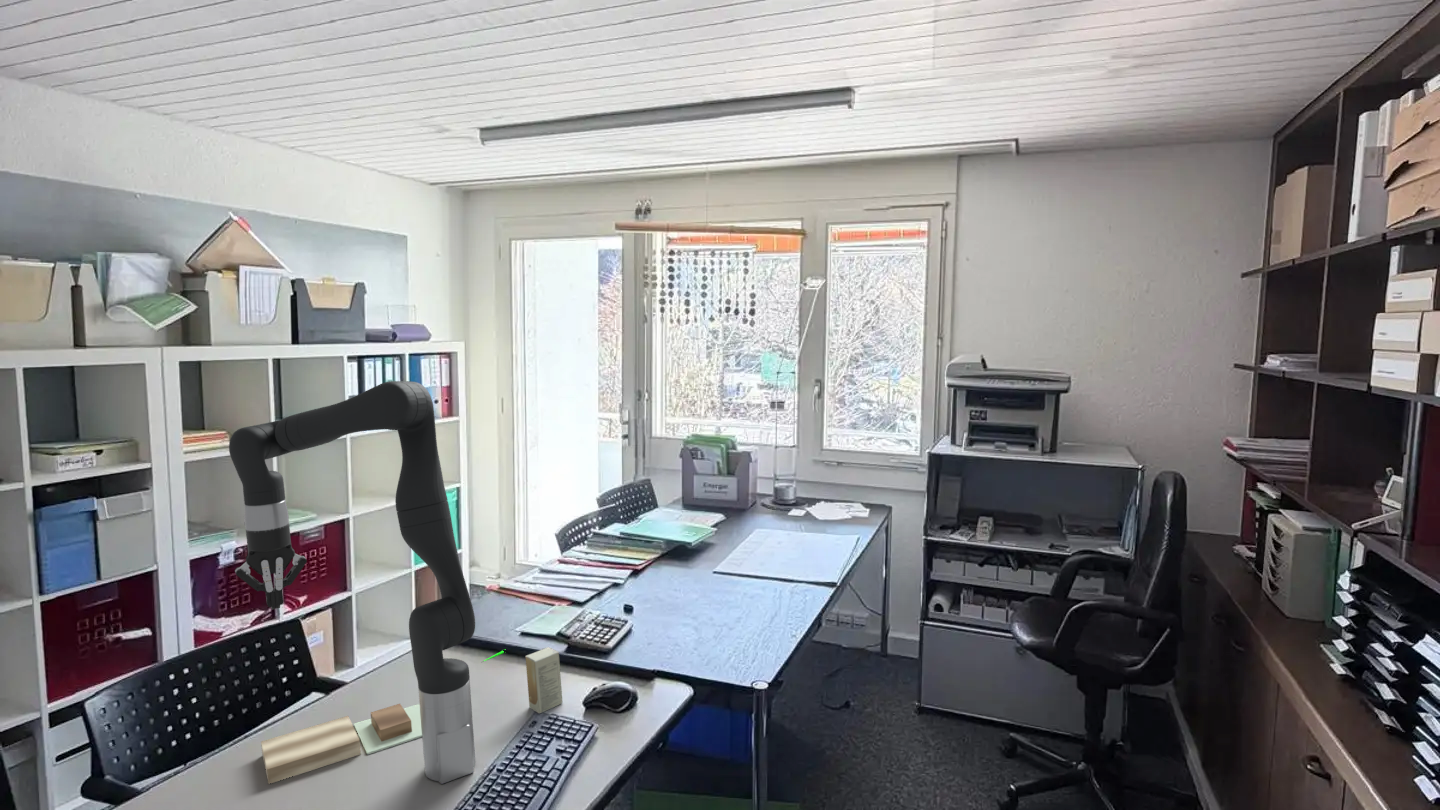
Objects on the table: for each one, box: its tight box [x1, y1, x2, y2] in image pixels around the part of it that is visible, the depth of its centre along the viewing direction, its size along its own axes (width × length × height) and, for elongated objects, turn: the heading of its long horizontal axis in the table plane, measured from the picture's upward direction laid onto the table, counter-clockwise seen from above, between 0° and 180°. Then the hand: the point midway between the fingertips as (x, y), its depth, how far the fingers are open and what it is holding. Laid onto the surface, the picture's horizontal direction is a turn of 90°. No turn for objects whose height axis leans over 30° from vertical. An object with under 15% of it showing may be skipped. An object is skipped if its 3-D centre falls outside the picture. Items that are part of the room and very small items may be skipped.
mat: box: [353, 703, 422, 755], centre depth 165 cm, size 14×20×1 cm
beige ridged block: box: [260, 715, 362, 785], centre depth 154 cm, size 12×16×3 cm
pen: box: [482, 650, 505, 663], centre depth 199 cm, size 1×14×1 cm, turn 144°
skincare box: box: [525, 646, 563, 714], centre depth 170 cm, size 6×4×12 cm
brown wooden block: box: [370, 703, 412, 742], centre depth 163 cm, size 9×6×2 cm, turn 36°
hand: (275, 607), depth 155 cm, fingers closed
